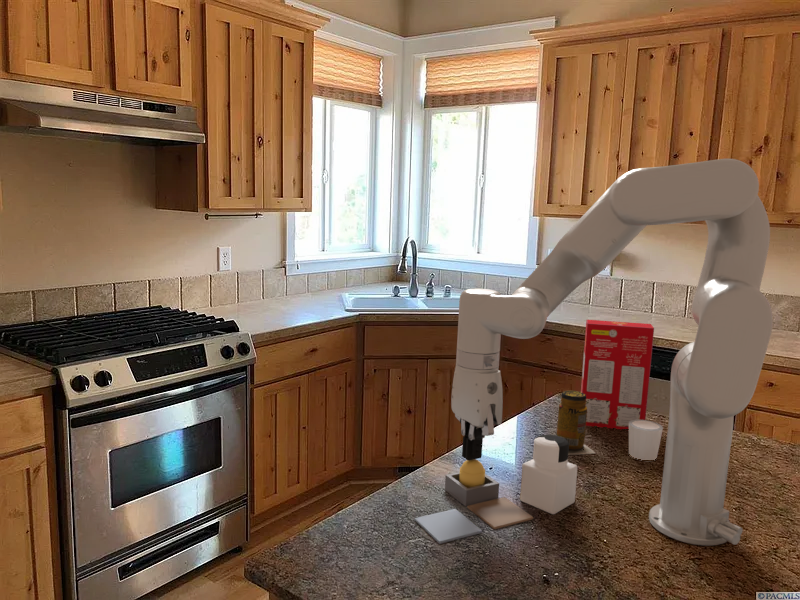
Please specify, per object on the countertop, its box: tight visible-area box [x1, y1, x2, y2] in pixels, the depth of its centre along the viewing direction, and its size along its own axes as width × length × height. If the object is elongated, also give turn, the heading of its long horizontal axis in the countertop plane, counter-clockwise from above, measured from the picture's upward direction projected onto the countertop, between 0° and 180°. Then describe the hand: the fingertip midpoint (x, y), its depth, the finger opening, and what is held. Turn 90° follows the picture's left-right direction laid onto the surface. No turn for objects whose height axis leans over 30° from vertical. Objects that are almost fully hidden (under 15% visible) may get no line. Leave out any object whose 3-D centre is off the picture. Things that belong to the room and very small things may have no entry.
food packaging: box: [580, 319, 655, 430], centre depth 154 cm, size 15×5×25 cm, turn 77°
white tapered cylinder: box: [628, 419, 664, 461], centre depth 137 cm, size 7×7×7 cm
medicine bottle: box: [519, 434, 578, 515], centre depth 114 cm, size 7×7×12 cm
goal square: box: [414, 508, 483, 545], centre depth 106 cm, size 8×8×1 cm
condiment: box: [556, 390, 596, 456], centre depth 140 cm, size 7×8×12 cm
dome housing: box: [444, 471, 500, 507], centre depth 117 cm, size 7×7×3 cm
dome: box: [459, 459, 486, 488], centre depth 116 cm, size 5×5×5 cm
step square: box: [466, 496, 534, 530], centre depth 110 cm, size 8×8×1 cm
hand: (471, 457), depth 116 cm, fingers closed
